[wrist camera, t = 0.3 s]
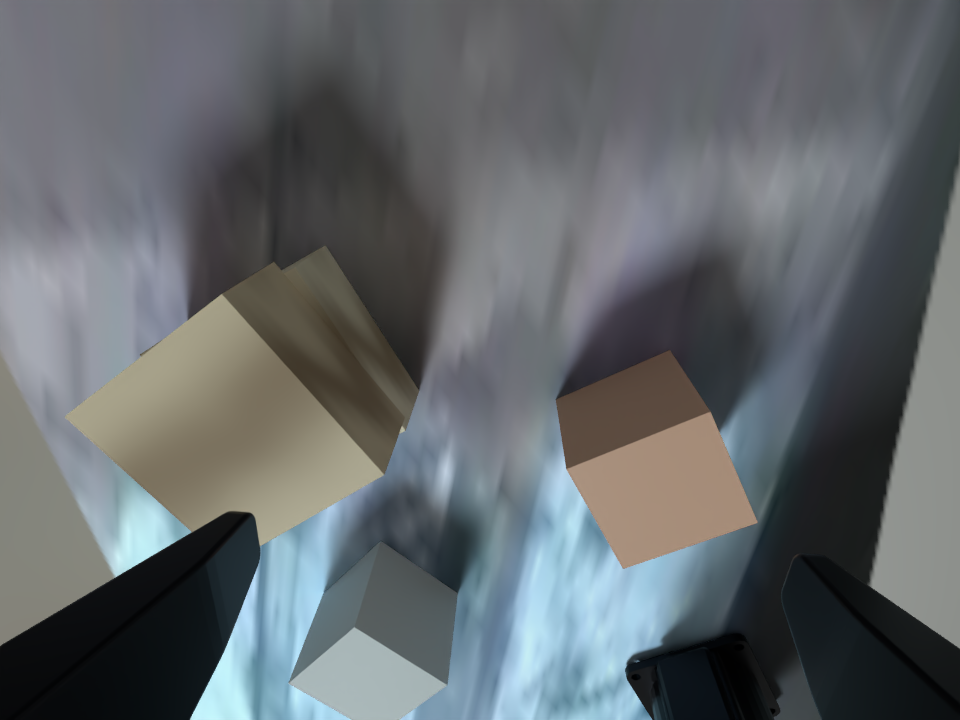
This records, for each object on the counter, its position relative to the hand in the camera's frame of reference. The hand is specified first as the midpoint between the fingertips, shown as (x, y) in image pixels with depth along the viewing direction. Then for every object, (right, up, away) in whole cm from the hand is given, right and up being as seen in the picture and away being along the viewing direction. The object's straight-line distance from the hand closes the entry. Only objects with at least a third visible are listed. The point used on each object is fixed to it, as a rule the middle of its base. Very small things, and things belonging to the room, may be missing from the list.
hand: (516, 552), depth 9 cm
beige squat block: (-8, +2, +11) cm, 14 cm away
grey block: (-5, -9, +19) cm, 22 cm away
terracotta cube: (+6, +1, +14) cm, 15 cm away
